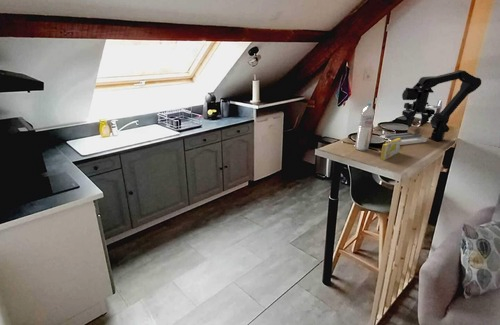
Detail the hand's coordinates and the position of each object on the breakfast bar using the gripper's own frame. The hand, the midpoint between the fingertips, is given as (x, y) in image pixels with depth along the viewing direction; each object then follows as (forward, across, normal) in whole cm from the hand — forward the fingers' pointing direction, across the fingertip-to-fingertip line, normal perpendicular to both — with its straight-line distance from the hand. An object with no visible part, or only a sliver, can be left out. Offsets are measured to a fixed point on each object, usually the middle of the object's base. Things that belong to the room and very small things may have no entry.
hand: (415, 126), depth 172 cm
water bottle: (+8, +40, +5) cm, 41 cm away
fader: (+6, 0, 0) cm, 6 cm away
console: (+8, +7, 0) cm, 11 cm away
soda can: (+8, +32, -3) cm, 33 cm away
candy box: (+8, +32, +18) cm, 38 cm away
